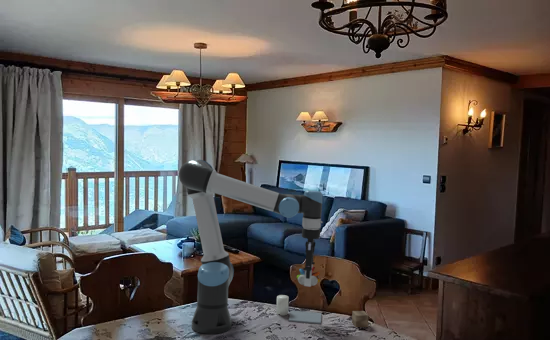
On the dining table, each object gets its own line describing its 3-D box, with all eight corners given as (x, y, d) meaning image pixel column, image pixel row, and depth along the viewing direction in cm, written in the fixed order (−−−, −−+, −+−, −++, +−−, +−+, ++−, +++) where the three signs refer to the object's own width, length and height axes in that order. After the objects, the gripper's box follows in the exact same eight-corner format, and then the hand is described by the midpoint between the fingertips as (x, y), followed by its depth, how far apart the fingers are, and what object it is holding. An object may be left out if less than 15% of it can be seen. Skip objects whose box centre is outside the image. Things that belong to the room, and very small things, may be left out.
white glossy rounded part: (275, 315, 183) (276, 298, 183) (276, 310, 188) (277, 294, 188) (287, 315, 183) (288, 299, 182) (288, 311, 188) (288, 295, 187)
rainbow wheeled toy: (319, 287, 175) (320, 269, 175) (295, 284, 177) (296, 267, 177) (320, 282, 183) (321, 264, 183) (297, 279, 185) (298, 262, 185)
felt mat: (288, 321, 176) (288, 319, 176) (291, 312, 187) (291, 310, 187) (320, 324, 175) (320, 322, 175) (321, 314, 186) (321, 313, 186)
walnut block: (355, 327, 173) (356, 315, 172) (351, 323, 178) (352, 311, 177) (367, 327, 173) (368, 315, 173) (363, 323, 178) (364, 310, 178)
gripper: (319, 233, 169) (316, 291, 169) (321, 225, 190) (318, 277, 190) (300, 231, 170) (296, 289, 170) (304, 224, 191) (301, 275, 191)
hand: (308, 282), depth 180 cm, fingers closed on rainbow wheeled toy, 8 cm apart
